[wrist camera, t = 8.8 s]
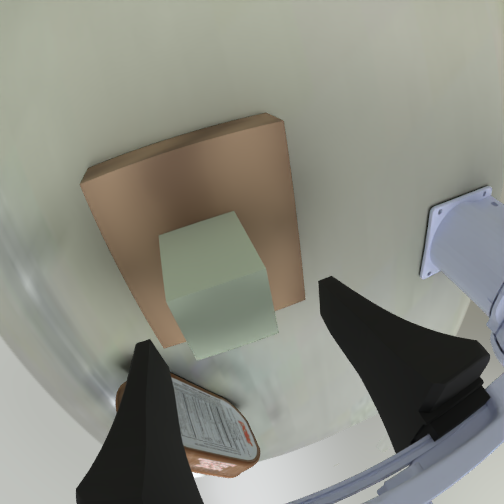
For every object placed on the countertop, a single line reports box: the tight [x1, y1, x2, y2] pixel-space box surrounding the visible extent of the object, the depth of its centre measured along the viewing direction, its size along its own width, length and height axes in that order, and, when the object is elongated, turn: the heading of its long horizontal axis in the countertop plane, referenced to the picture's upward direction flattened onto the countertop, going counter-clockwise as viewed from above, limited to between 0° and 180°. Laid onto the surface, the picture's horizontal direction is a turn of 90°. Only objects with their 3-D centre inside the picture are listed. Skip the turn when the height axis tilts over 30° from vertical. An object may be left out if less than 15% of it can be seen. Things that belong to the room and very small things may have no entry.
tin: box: [116, 373, 260, 478], centre depth 24 cm, size 15×3×8 cm, turn 36°
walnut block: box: [80, 113, 305, 348], centre depth 19 cm, size 10×12×3 cm
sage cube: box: [159, 211, 279, 361], centre depth 15 cm, size 4×4×5 cm
